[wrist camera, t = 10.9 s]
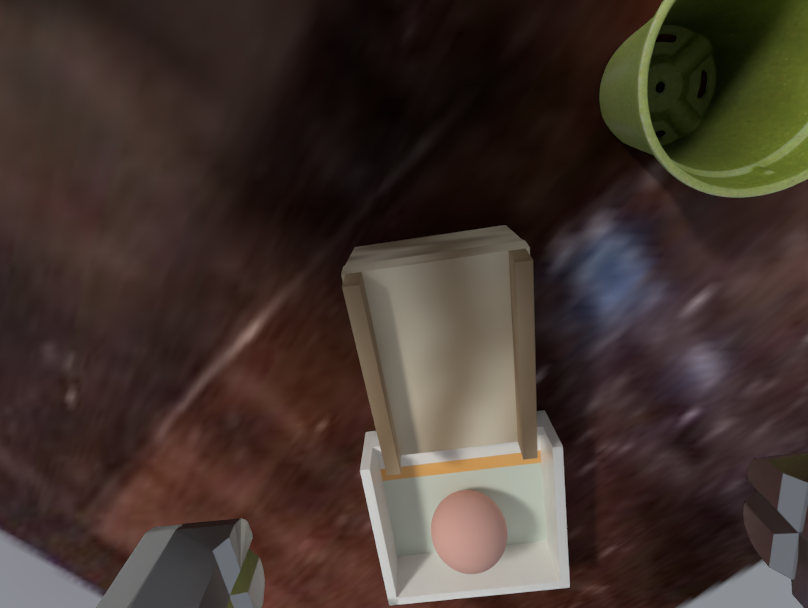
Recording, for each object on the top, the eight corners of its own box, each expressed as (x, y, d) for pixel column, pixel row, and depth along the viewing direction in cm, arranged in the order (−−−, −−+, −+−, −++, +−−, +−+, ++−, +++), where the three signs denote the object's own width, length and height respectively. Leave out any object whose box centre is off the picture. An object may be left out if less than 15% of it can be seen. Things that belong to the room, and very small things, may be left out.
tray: (391, 556, 36) (389, 605, 32) (365, 431, 32) (359, 470, 29) (552, 539, 35) (569, 587, 32) (544, 410, 32) (562, 446, 28)
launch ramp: (387, 423, 32) (381, 501, 25) (354, 245, 28) (336, 279, 21) (520, 407, 32) (551, 481, 25) (505, 223, 28) (537, 250, 21)
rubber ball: (424, 503, 29) (435, 591, 28) (505, 494, 29) (518, 583, 28) (427, 487, 34) (437, 561, 33) (496, 479, 34) (508, 554, 33)
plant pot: (733, 172, 27) (877, 186, 18) (565, 188, 27) (631, 208, 19) (758, -21, 24) (943, -108, 15) (568, -1, 24) (650, -74, 16)
